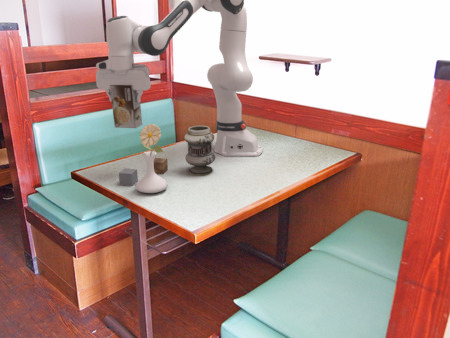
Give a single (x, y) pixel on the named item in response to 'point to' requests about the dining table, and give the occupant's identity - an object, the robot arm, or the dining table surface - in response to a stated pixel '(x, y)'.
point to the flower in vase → (151, 161)
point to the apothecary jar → (199, 149)
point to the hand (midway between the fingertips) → (125, 101)
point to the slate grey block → (128, 177)
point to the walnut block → (160, 165)
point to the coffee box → (125, 106)
